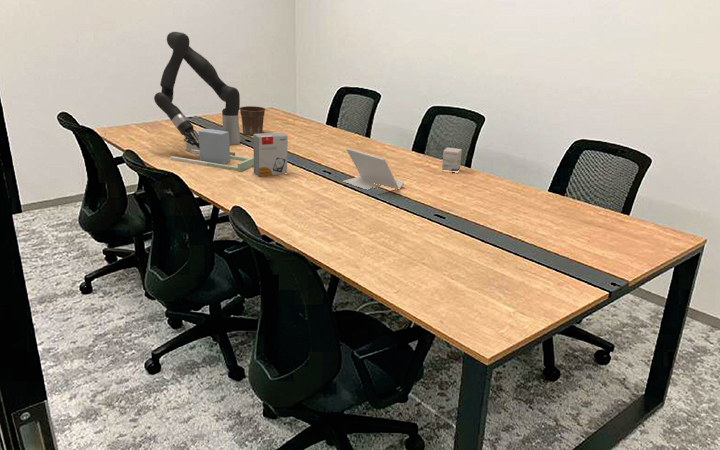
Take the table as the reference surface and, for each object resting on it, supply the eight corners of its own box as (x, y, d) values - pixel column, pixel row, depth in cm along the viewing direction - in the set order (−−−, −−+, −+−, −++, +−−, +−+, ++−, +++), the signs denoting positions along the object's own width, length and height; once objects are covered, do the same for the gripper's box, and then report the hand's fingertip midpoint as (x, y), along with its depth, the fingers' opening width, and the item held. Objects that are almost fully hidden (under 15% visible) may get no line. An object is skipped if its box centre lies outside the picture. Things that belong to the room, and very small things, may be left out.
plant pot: (271, 133, 375) (270, 108, 369) (254, 137, 363) (253, 111, 357) (252, 129, 383) (251, 105, 377) (234, 133, 370) (233, 108, 365)
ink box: (460, 170, 314) (462, 148, 310) (457, 174, 307) (459, 152, 302) (444, 167, 317) (446, 146, 312) (441, 171, 309) (443, 150, 305)
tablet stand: (378, 195, 268) (380, 159, 262) (341, 182, 285) (342, 148, 279) (404, 188, 280) (407, 153, 274) (367, 176, 297) (369, 143, 291)
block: (208, 157, 315) (206, 128, 309) (230, 161, 310) (229, 131, 304) (200, 160, 309) (198, 131, 303) (222, 164, 304) (221, 134, 298)
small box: (203, 149, 331) (202, 131, 327) (200, 152, 326) (199, 133, 322) (190, 148, 331) (189, 130, 328) (186, 151, 326) (185, 132, 322)
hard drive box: (258, 177, 287) (257, 137, 279) (253, 172, 293) (252, 133, 286) (287, 174, 293) (287, 135, 286) (282, 170, 300) (282, 131, 292)
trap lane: (199, 149, 330) (198, 142, 329) (266, 160, 316) (266, 153, 314) (169, 160, 308) (169, 152, 306) (240, 171, 293) (239, 164, 292)
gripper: (178, 121, 302) (199, 148, 303) (194, 117, 314) (214, 143, 314) (170, 130, 306) (191, 156, 306) (186, 126, 317) (206, 151, 318)
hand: (202, 149), depth 310 cm, fingers closed
